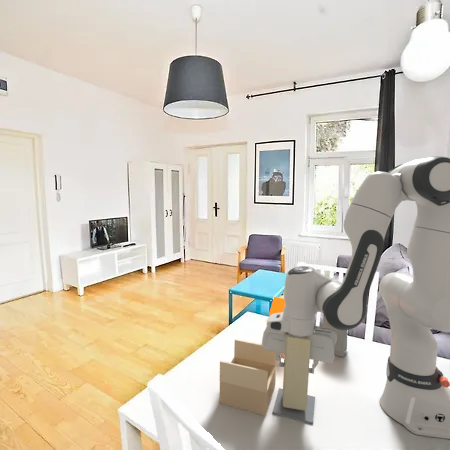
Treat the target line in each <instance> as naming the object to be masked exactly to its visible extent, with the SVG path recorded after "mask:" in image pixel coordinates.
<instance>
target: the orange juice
mask: <svg viewBox="0 0 450 450" xmlns="http://www.w3.org/2000/svg"><path fill="white" fill-rule="evenodd" d="M284 307H285V300H284V298H282V297H277V296H273V299H272V303H271V307H270V310H269V314H268V315H269V317H270V315H271V314H274V313H281V312H283V310H284ZM269 317H268V318H269Z"/></svg>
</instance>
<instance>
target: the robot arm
mask: <svg viewBox="0 0 450 450" xmlns="http://www.w3.org/2000/svg"><path fill="white" fill-rule="evenodd" d="M403 201H404V202H405V201H410V202H415V204H416V209H417V211H416V212H417V213H416V218H415V221H414V224H413V227H412V229H411V235H410V237H409V242H408V246H407V248H406V249H407V250H406V255H407V258H408V260H409V261H410V263H411V264H410V265H411V266H412V267H411V268H412V274H410V273H404V272H397V271H396V272H390V273H387V274H385V275H384V276H383V277H382V278H381V280H380V282H379V285H378V291H379V294H380V296H381V298H382V301H383V302H384V306H385V309H386V313H387V315H388V320H389V328H390V351H389V352H390V353H389V356H388V358H387V363H386V381H385V382H386V383H385V387H384V390H383V392H382V394H381V396H380V398H379V403H380V406H381V408H382V410H383V411H384V412H385V413H386V414H387V415H388V416H389V417H390V418H392V419H393V420H395V421H396V422H398V423H399V424H401V425H403V426H404V427H405V428H406V430H408V431H410V432H411V433H412V434H414V435H418V436H426V437H433V438H440V439H446V440H448V439H449V440H450V388H449V387H450V381H449V380H448V378H447V377H446V376H444V374H443V372H442V371H441V370H440V369H439V367H437V358H438V349H439V347H438V341H437V340H436V338H435V335H434V334H433V332H432V330H436V331H439V332H442V333H450V158H449V157H446V156H438V155H437V156H434V155H433V156H429V157H423V158H417V159H413V160H411V161H409V162H405V163H401V164H398V165H396V166H394V167H393V168H391V169H390V170H389V171H388V172H386V171H375V172H371V173H369V174H368V175H367V176H366V177H365V179H364V180H363V182H362V183H361V184H360V186H359V187H358V189H357V190H356V192H355V194H354V196H353V197H352V200H351V202H350V205H348V209H347V210H346V213H345V216H344V221H343V230H344V232H345V234H346V236H347V238H348V239H349V242H350V245H351V250H352V251H351V253H352V254H351V258H350V260H349V263H348V265H347V266H348V267H347V269H346V272H345V275H344V277H343V280H342V282H341V281H340V280H338V279H336V278H333V277H329V276H326V275H324V274H322V273H321V272H319V271H318V270H316V269H315V268H314V267H311V266H306V265H301V266H296V267H292V268H291V269H289V270H288V272H287V274H286V276H285V282H284V290H283V291H284V292H283V299H284V300H285V307H284V310H283V312H281V313H274V314H271V315H270V317H268V318H267V321H266V327H265V329H264V331H263V334H262V340H261V344H262V347H263V349H264V350H268V351H273V352H276V353H275V355H276V360H278V367H281V368H284V364H285V358H283V357H282V355H285V351H286V334H287V333H289V334H290V335H292V336H295V337H310V338H311V346H310V360H313V361H312V362H313V363H312V364H310V363H309V374H313V375H315V369H316V368H317V366H318V365H319V362H322V363H327V364H332V363H333V362H334V361H335V354H334V344H335V343H336V342H337V334H336V333H335V332H334V331H333V330H331V329H330V328H323V326H318V325H316V322H315V321H316V314H317V313H322V314H324V316H325V318H326V320H327V321H328V323H329V324H330V325H331V326H332V327H334V328H336V329H339V330H347V331H349V330H353V329H355V328H357V327H358V326H359V325H361V324H362V323H363V322H364V320H365V318H366V314H367V311H368V310H367V309H368V308H367V307H368V306H367V305H368V297H369V293H370V289H371V286H372V283H373V281H374V279H375V275H376V272H377V270H378V266H379V264H380V261H381V259H382V255H383V251H384V246H385V245H384V244H385V238H386V234H387V231H388V228H389V227H390V223H391V221H392V219H393V217H394V214H395V211H396V209H397V208H398V206H399V205H400V204H401V203H402V202H403ZM431 329H432V330H431ZM281 354H282V355H281Z"/></svg>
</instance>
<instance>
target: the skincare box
mask: <svg viewBox="0 0 450 450" xmlns="http://www.w3.org/2000/svg"><path fill="white" fill-rule="evenodd" d="M322 314H323V313H322ZM322 327H323V328H330V329H331V330H333V331H334V332H335V333H336V334H337V342H336V343H335V344H334V356H340V357H345V354H346V352H347V349H348V330H339V329H336V328H334V327H332V326H331V325H330V324H329V323H328V321H327V320H326V318H325V316H324V314H323V315H322Z"/></svg>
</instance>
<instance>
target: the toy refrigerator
mask: <svg viewBox="0 0 450 450" xmlns="http://www.w3.org/2000/svg"><path fill="white" fill-rule="evenodd" d="M310 346H311V338H310V337H295V336H292V335H290V334H289V333H287V334H286V351H285V354H284V359H285V364H284V367H283V382H282V389H283V407H287V408H293V409H299V410H305V411H306V407H307V395H308V392H309V390H308V387H309V375H310V373H309V364H310V360H311V359H310Z"/></svg>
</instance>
